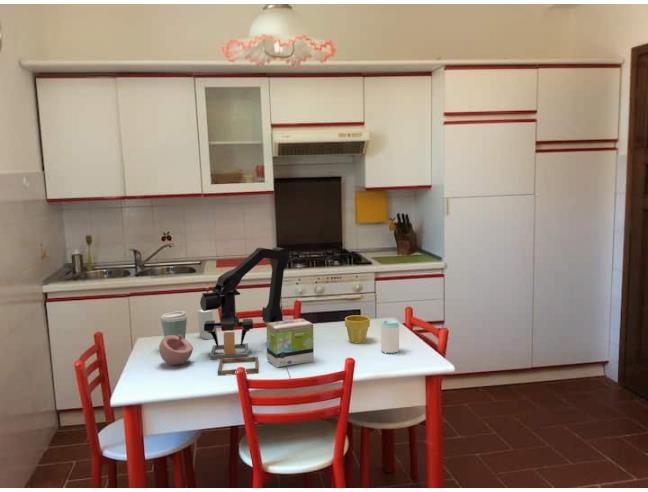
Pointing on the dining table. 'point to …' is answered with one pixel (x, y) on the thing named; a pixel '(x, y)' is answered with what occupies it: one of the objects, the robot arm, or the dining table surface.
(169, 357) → the mortar and pestle
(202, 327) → the skincare box
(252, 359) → the frame
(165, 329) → the disposable coffee cup
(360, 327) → the plant pot
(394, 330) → the can
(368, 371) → the dining table surface
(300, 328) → the tea box
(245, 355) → the gray square frame
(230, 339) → the plug block
